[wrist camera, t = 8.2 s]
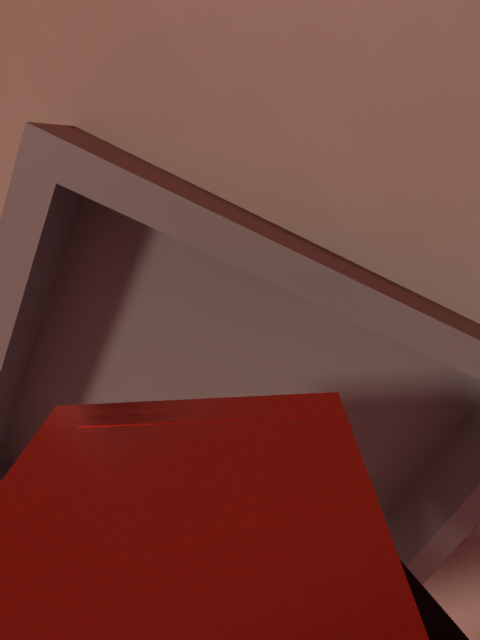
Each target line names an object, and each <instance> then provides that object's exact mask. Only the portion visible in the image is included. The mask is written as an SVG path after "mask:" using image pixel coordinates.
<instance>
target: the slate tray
mask: <svg viewBox="0 0 480 640" xmlns="http://www.w3.org/2000/svg"><path fill="white" fill-rule="evenodd" d="M328 392H338V393H339V396H340V398H341V401H342V404H343V407H344V409H345V412H346V415H347V417H348V420H349V423H350V426H351V428H352V431H353V434H354V436H355V439H356V442H357V445H358V447H359V450H360V453H361V455H362V458H363V461H364V464H365V466H366V469H367V472H368V475H369V477H370V480H371V483H372V485H373V488H374V491H375V494H376V496H377V499H378V502H379V504H380V507H381V510H382V513H383V515H384V518H385V521H386V523H387V526H388V529H389V532H390V534H391V537H392V540H393V542H394V545H395V548H396V551H397V553H398V556H399V558H400V560H401V561H402V562H403V563H404V564H405V565H406V567H407V568H408V569H409V570H410V571H411V572H412V574H413V575H414V576H415V577H416V578H417V579H418V581H419V582H420V583H421V584H423V583H424V582H425V581H426V580H427V579H428V578H429V577H430V576H431V575H432V574H433V572H434V571H435V570H436V569H437V568H438V567H439V566H440V565H441V564H442V563H443V562H444V561H445V560H446V559H447V558H448V556H449V555H450V554H451V553H452V552H453V551H454V550H455V549H456V548H457V547H458V546H459V545H460V544H461V543H462V542H463V540H464V539H465V538H466V537H467V536H468V535H469V534H470V533H471V532H472V531H473V530H474V529H475V528H476V527H477V526H478V524H479V523H480V324H478V323H476V322H474V321H472V320H470V319H468V318H466V317H464V316H462V315H460V314H458V313H456V312H453V311H451V310H449V309H447V308H445V307H443V306H441V305H439V304H437V303H435V302H433V301H431V300H429V299H427V298H425V297H423V296H421V295H419V294H417V293H415V292H413V291H410V290H408V289H406V288H404V287H402V286H400V285H398V284H396V283H394V282H392V281H390V280H388V279H386V278H384V277H382V276H380V275H378V274H376V273H374V272H372V271H370V270H367V269H365V268H363V267H361V266H359V265H357V264H355V263H353V262H351V261H349V260H347V259H345V258H343V257H341V256H339V255H337V254H335V253H333V252H331V251H329V250H327V249H324V248H322V247H320V246H318V245H316V244H314V243H312V242H310V241H308V240H306V239H304V238H302V237H300V236H298V235H296V234H294V233H292V232H290V231H288V230H286V229H283V228H281V227H279V226H277V225H275V224H273V223H271V222H269V221H267V220H265V219H263V218H261V217H259V216H257V215H255V214H253V213H251V212H249V211H247V210H245V209H243V208H240V207H238V206H236V205H234V204H232V203H230V202H228V201H226V200H224V199H222V198H220V197H218V196H216V195H214V194H212V193H210V192H208V191H206V190H204V189H202V188H200V187H197V186H195V185H193V184H191V183H189V182H187V181H185V180H183V179H181V178H179V177H177V176H175V175H173V174H171V173H169V172H167V171H165V170H163V169H161V168H159V167H157V166H154V165H152V164H150V163H148V162H146V161H144V160H142V159H140V158H138V157H136V156H134V155H132V154H130V153H128V152H126V151H124V150H122V149H120V148H118V147H116V146H114V145H111V144H109V143H107V142H105V141H103V140H101V139H99V138H97V137H95V136H93V135H91V134H89V133H87V132H85V131H83V130H81V129H79V128H77V127H75V126H67V125H55V124H44V123H32V122H26V124H25V127H24V131H23V135H22V139H21V143H20V147H19V151H18V155H17V159H16V163H15V167H14V171H13V175H12V178H11V182H10V186H9V190H8V194H7V198H6V202H5V206H4V210H3V214H2V218H1V222H0V482H1V481H2V479H3V478H4V476H5V475H6V474H7V472H8V471H9V470H10V468H11V467H12V465H13V464H14V463H15V461H16V460H17V459H18V457H19V456H20V454H21V453H22V452H23V450H24V449H25V447H26V446H27V445H28V443H29V442H30V441H31V439H32V438H33V436H34V435H35V434H36V432H37V431H38V430H39V428H40V427H41V425H42V424H43V423H44V421H45V420H46V418H47V417H48V416H49V414H50V413H51V412H52V410H53V409H54V407H55V406H62V405H82V404H103V403H123V402H144V401H164V400H184V399H205V398H225V397H246V396H266V395H287V394H307V393H328Z"/></svg>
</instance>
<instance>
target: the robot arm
mask: <svg viewBox="0 0 480 640" xmlns="http://www.w3.org/2000/svg"><path fill="white" fill-rule="evenodd" d="M399 559H400V558H399ZM400 562H401V564H402V567H403V570H404V572H405V575H406V578H407V581H408V583H409V586H410V589H411V591H412V594H413V597H414V600H415V602H416V605H417V608H418V610H419V613H420V616H421V619H422V621H423V624H424V627H425V629H426V632H427V635H428V638H429V640H469V639H468V638H467V637H466V635H465V634H464V633H463V632H462V631H461V630H460V628H459V627H458V626H457V625H456V624H455V623H454V621H453V620H452V619H451V618H450V617H449V616H448V614H447V613H446V612H445V611H444V610H443V609H442V607H441V606H440V605H439V604H438V603H437V602H436V600H435V599H434V598H433V597H432V596H431V595H430V593H429V592H428V591H427V590H426V589H425V588H424V586H423V585H422V584H421V583H420V582H419V581H418V579H417V578H416V577H415V576H414V575H413V574H412V572H411V571H410V570H409V569H408V568H407V567H406V565H405V564H404V563H403V562H402V561H401V560H400Z"/></svg>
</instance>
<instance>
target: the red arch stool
mask: <svg viewBox="0 0 480 640" xmlns="http://www.w3.org/2000/svg"><path fill="white" fill-rule="evenodd" d="M0 640H429V638H428V635H427V632H426V629H425V627H424V624H423V621H422V619H421V616H420V613H419V610H418V608H417V605H416V602H415V600H414V597H413V594H412V591H411V589H410V586H409V583H408V581H407V578H406V575H405V572H404V570H403V567H402V564H401V562H400V559H399V556H398V553H397V551H396V548H395V545H394V542H393V540H392V537H391V534H390V532H389V529H388V526H387V523H386V521H385V518H384V515H383V513H382V510H381V507H380V504H379V502H378V499H377V496H376V494H375V491H374V488H373V485H372V483H371V480H370V477H369V475H368V472H367V469H366V466H365V464H364V461H363V458H362V455H361V453H360V450H359V447H358V445H357V442H356V439H355V436H354V434H353V431H352V428H351V426H350V423H349V420H348V417H347V415H346V412H345V409H344V407H343V404H342V401H341V398H340V396H339V393H338V392H328V393H307V394H287V395H266V396H246V397H225V398H205V399H184V400H164V401H144V402H123V403H103V404H82V405H62V406H55V407H54V409H53V410H52V412H51V413H50V414H49V416H48V417H47V418H46V420H45V421H44V423H43V424H42V425H41V427H40V428H39V430H38V431H37V432H36V434H35V435H34V436H33V438H32V439H31V441H30V442H29V443H28V445H27V446H26V447H25V449H24V450H23V452H22V453H21V454H20V456H19V457H18V459H17V460H16V461H15V463H14V464H13V465H12V467H11V468H10V470H9V471H8V472H7V474H6V475H5V476H4V478H3V479H2V481H1V482H0Z"/></svg>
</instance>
